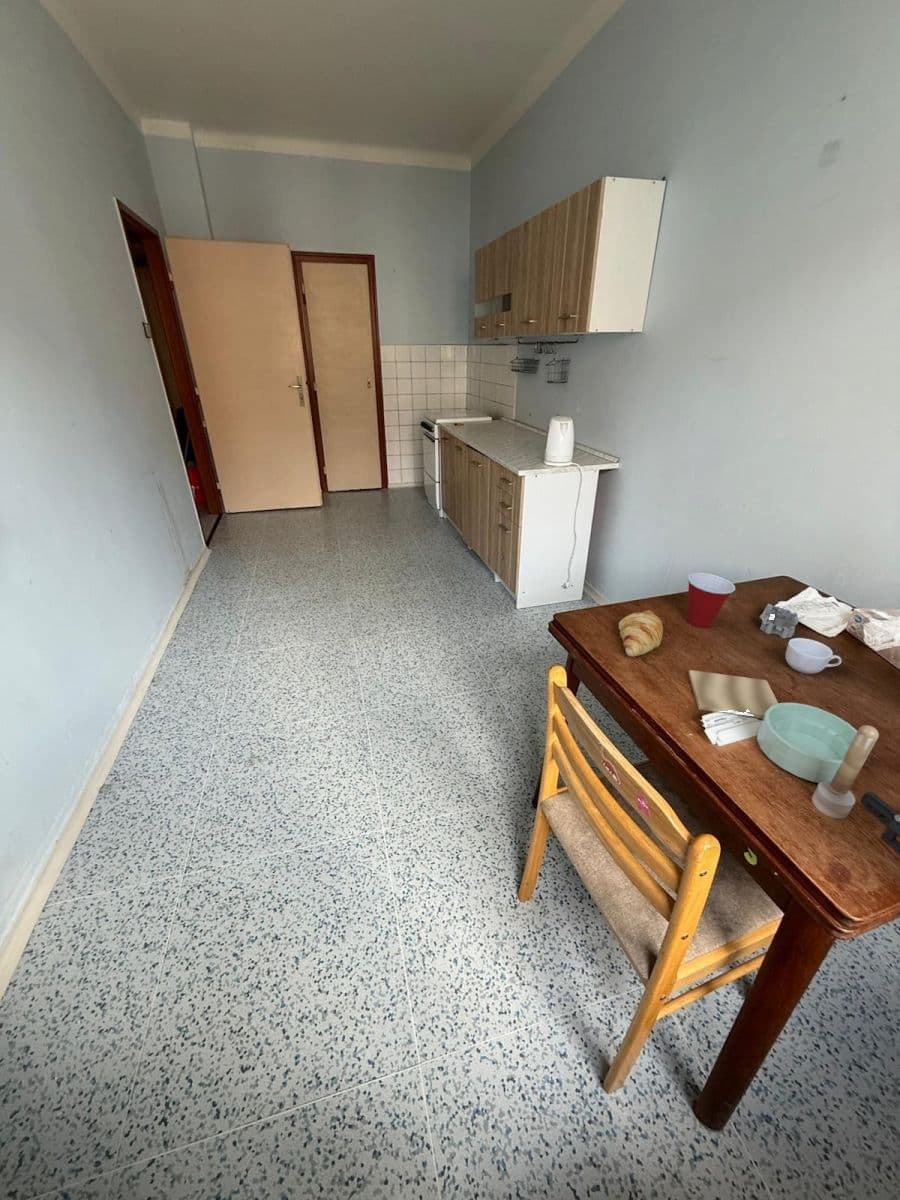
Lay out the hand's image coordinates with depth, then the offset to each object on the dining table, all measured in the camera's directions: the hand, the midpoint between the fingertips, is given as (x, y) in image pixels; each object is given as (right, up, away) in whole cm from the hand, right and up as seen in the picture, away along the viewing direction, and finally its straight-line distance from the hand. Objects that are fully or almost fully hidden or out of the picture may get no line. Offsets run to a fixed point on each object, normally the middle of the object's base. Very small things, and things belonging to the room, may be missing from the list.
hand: (888, 789), depth 64 cm
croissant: (-14, +16, +51) cm, 56 cm away
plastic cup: (+5, +20, +58) cm, 61 cm away
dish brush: (-1, -6, +9) cm, 11 cm away
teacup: (+19, +11, +39) cm, 45 cm away
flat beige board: (-2, +6, +32) cm, 33 cm away
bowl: (+2, -1, +18) cm, 18 cm away
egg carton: (+23, +19, +55) cm, 62 cm away
